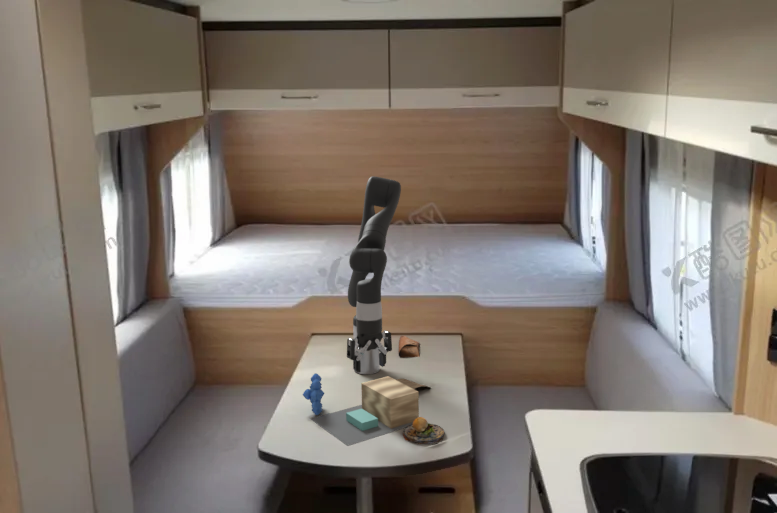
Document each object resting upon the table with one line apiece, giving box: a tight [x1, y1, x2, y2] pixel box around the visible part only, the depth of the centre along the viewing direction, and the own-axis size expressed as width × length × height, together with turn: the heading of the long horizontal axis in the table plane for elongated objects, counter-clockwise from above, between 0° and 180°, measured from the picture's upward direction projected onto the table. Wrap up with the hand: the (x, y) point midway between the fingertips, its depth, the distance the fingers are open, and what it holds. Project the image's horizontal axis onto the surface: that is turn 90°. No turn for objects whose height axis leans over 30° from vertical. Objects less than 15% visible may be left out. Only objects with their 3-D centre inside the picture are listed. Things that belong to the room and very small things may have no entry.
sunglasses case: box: [397, 335, 420, 358], centre depth 273 cm, size 18×7×7 cm
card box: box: [346, 409, 378, 431], centre depth 205 cm, size 9×6×2 cm, turn 34°
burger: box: [402, 416, 446, 446], centre depth 197 cm, size 12×12×8 cm
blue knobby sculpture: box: [302, 373, 325, 416], centre depth 214 cm, size 12×7×12 cm, turn 6°
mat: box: [310, 404, 413, 447], centre depth 208 cm, size 22×26×1 cm
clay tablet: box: [394, 378, 431, 390], centre depth 231 cm, size 16×11×3 cm
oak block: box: [360, 375, 420, 428], centre depth 210 cm, size 16×10×9 cm, turn 34°
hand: (369, 368), depth 205 cm, fingers open, 8 cm apart
